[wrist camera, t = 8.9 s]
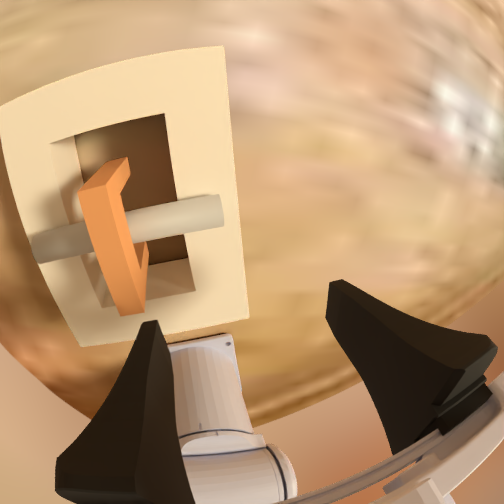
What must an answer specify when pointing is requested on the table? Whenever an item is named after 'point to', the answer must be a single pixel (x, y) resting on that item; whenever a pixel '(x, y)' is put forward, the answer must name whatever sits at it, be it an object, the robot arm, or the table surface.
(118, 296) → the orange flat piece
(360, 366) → the robot arm
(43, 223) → the cream frame with crossbar
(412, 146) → the table surface
